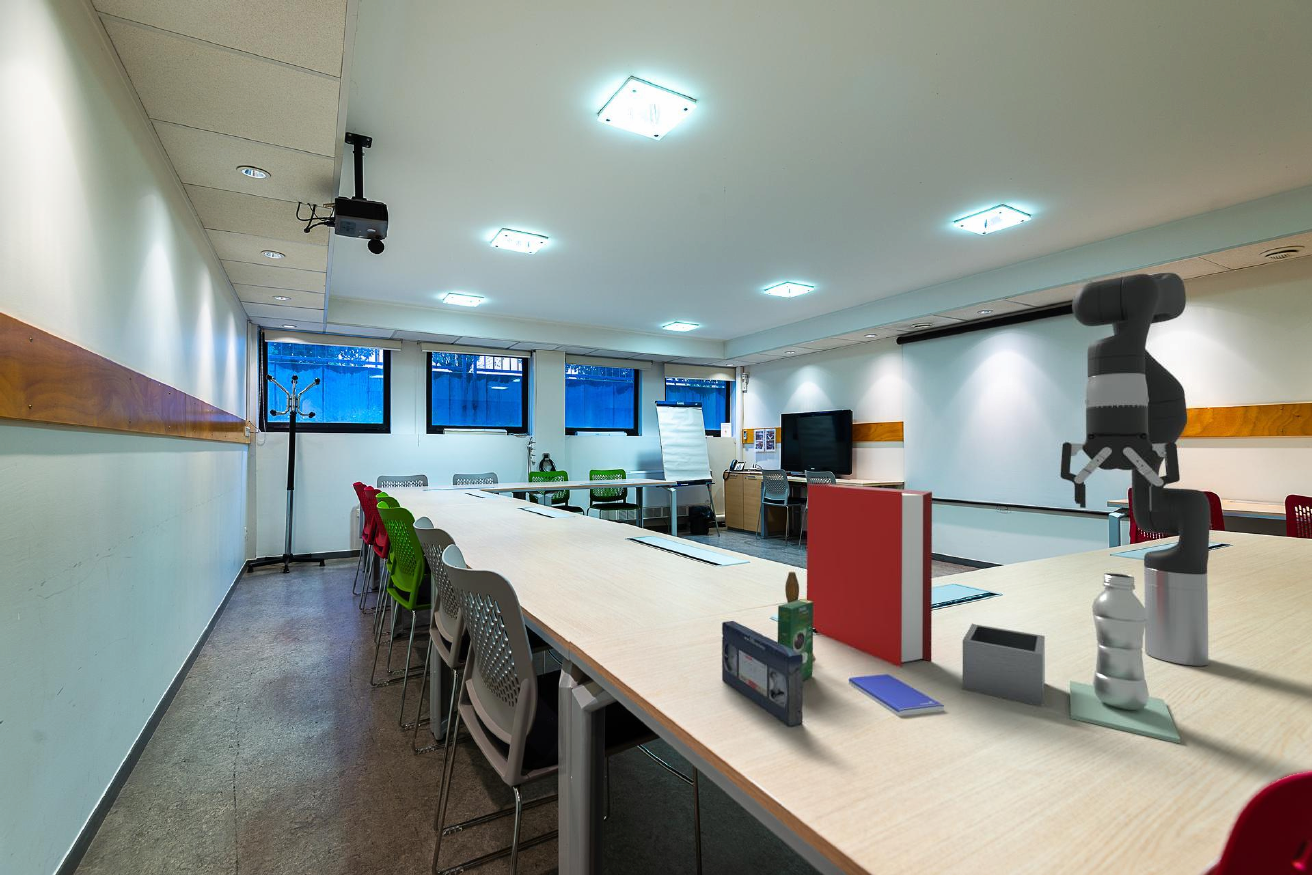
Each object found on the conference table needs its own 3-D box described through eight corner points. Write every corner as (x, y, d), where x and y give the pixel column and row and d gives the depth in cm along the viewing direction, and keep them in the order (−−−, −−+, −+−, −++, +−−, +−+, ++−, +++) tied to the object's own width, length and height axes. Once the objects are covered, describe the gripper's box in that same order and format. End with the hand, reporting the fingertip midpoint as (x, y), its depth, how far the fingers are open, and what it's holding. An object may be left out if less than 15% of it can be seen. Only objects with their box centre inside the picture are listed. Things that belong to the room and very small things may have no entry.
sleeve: (972, 667, 104) (972, 623, 104) (1044, 682, 97) (1044, 635, 98) (962, 688, 94) (962, 640, 94) (1042, 707, 88) (1042, 654, 88)
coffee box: (799, 671, 100) (799, 597, 101) (814, 676, 98) (814, 600, 99) (775, 684, 95) (776, 605, 95) (790, 689, 93) (791, 608, 93)
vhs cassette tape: (720, 680, 96) (721, 621, 96) (735, 678, 97) (736, 619, 98) (786, 729, 79) (787, 657, 79) (803, 725, 80) (804, 654, 81)
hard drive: (944, 703, 86) (889, 673, 98) (898, 708, 84) (848, 677, 96) (944, 714, 86) (889, 682, 98) (898, 719, 84) (848, 686, 96)
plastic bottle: (1159, 718, 83) (1158, 581, 84) (1107, 713, 85) (1106, 578, 85) (1132, 699, 90) (1131, 572, 90) (1084, 695, 91) (1083, 570, 92)
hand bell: (798, 667, 102) (799, 578, 103) (761, 654, 109) (762, 571, 109) (823, 657, 108) (824, 573, 108) (787, 645, 114) (788, 566, 115)
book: (931, 661, 107) (931, 491, 108) (900, 667, 103) (901, 492, 104) (829, 622, 131) (830, 484, 133) (802, 625, 128) (803, 484, 129)
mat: (1069, 684, 97) (1069, 680, 97) (1163, 703, 90) (1163, 699, 90) (1070, 718, 84) (1070, 714, 84) (1180, 743, 77) (1180, 738, 77)
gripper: (1173, 405, 87) (1174, 510, 87) (1060, 408, 96) (1060, 504, 95) (1181, 401, 81) (1183, 514, 81) (1059, 405, 90) (1060, 507, 89)
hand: (1116, 509), depth 88 cm, fingers open, 8 cm apart
